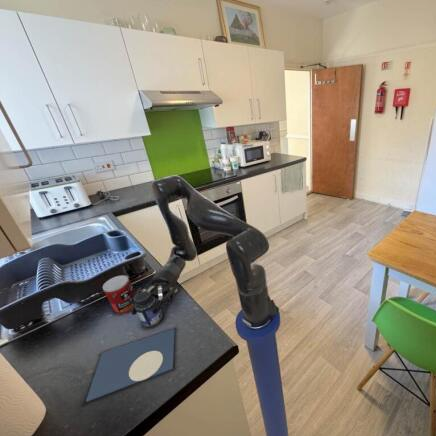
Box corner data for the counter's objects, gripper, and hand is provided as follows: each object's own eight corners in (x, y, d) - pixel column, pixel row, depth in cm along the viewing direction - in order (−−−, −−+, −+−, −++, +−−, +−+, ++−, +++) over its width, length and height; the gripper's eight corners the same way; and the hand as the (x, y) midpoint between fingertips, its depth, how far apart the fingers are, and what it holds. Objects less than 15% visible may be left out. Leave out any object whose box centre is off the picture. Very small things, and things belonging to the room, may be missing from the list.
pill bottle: (164, 311, 84) (154, 287, 79) (161, 324, 79) (151, 300, 74) (145, 316, 82) (134, 292, 78) (141, 330, 77) (129, 305, 72)
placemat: (175, 329, 77) (174, 328, 77) (173, 369, 65) (172, 368, 65) (102, 353, 71) (101, 352, 70) (86, 403, 59) (85, 402, 58)
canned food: (121, 317, 83) (108, 293, 78) (110, 308, 87) (97, 285, 82) (143, 302, 88) (132, 279, 83) (132, 295, 92) (121, 272, 87)
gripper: (145, 270, 89) (116, 305, 74) (183, 268, 89) (161, 302, 74) (151, 286, 92) (125, 321, 77) (188, 284, 92) (168, 319, 77)
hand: (143, 312), depth 76 cm, fingers closed on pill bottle, 6 cm apart
